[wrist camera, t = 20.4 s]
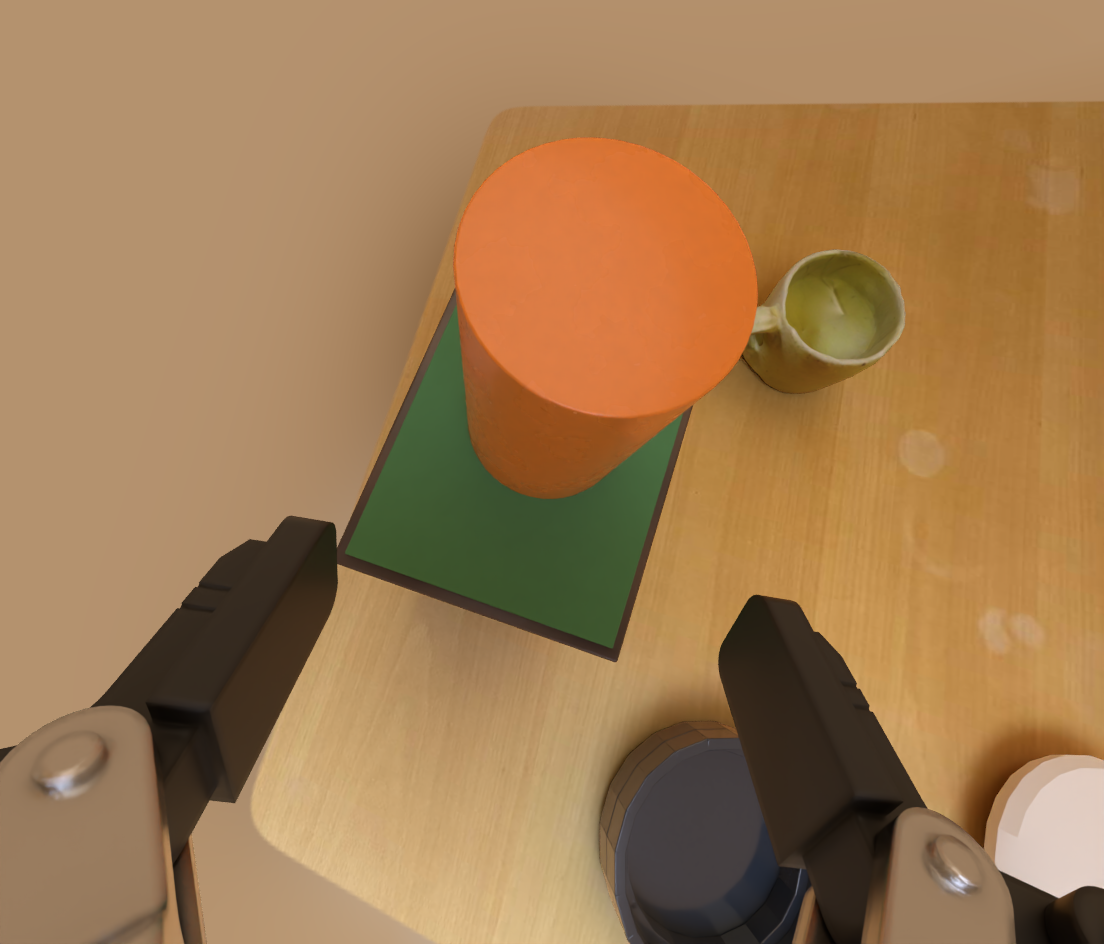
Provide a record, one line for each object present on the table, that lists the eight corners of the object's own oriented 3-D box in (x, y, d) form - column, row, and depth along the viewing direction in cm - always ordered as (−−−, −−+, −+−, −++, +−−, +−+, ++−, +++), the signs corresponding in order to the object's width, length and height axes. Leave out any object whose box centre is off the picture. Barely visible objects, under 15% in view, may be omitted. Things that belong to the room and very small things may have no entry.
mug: (853, 279, 44) (930, 237, 34) (840, 397, 45) (911, 391, 35) (710, 275, 44) (744, 234, 34) (701, 392, 45) (732, 383, 36)
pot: (770, 981, 33) (813, 1042, 29) (569, 916, 32) (582, 969, 28) (814, 755, 37) (859, 778, 32) (633, 691, 36) (654, 707, 31)
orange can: (597, 522, 17) (716, 466, 8) (442, 465, 17) (400, 344, 8) (643, 380, 18) (788, 205, 10) (501, 325, 18) (519, 92, 9)
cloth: (610, 647, 17) (613, 649, 16) (347, 554, 16) (344, 553, 16) (709, 317, 20) (713, 312, 19) (492, 230, 19) (492, 222, 19)
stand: (544, 616, 36) (617, 663, 17) (413, 569, 35) (330, 561, 16) (603, 442, 39) (720, 312, 20) (484, 397, 39) (486, 217, 19)
